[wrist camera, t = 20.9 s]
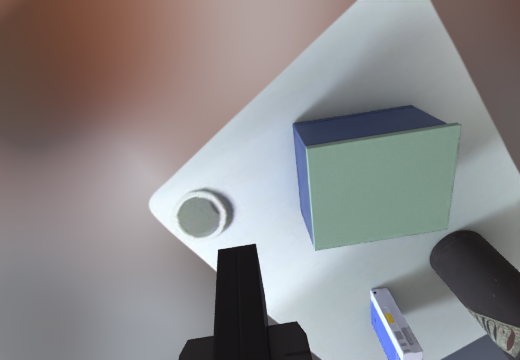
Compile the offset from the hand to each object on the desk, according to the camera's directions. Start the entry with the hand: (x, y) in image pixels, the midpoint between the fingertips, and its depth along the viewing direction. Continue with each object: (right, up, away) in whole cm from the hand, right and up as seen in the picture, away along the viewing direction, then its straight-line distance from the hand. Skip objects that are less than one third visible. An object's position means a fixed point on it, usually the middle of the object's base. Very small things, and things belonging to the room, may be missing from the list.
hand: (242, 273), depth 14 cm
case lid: (+14, +3, +24) cm, 28 cm away
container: (+31, -7, +39) cm, 51 cm away
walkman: (+20, -17, +43) cm, 51 cm away
